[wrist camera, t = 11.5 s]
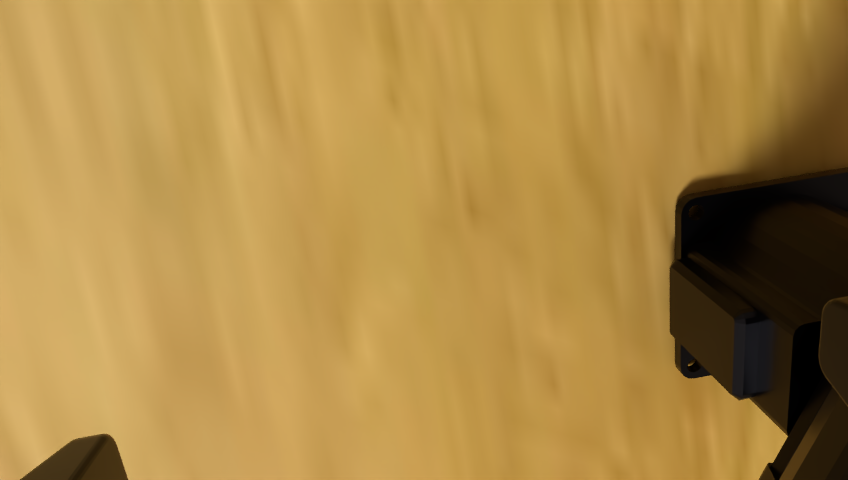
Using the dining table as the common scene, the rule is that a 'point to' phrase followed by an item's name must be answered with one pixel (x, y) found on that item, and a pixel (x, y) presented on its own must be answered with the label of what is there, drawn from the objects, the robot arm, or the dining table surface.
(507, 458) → the dining table surface
